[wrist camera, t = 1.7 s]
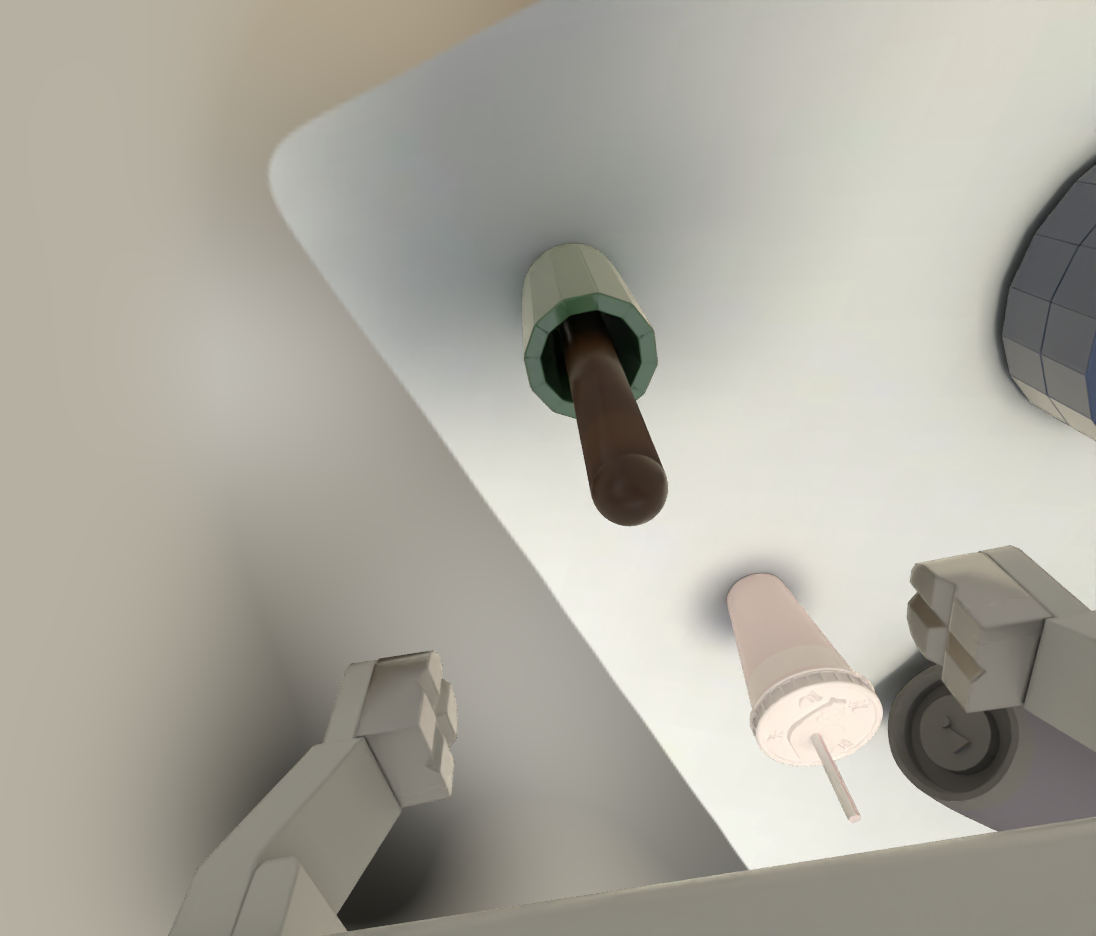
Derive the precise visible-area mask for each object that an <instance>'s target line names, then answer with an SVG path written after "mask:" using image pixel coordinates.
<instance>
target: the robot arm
mask: <svg viewBox="0 0 1096 936" xmlns="http://www.w3.org/2000/svg"><path fill="white" fill-rule="evenodd" d="M910 583H911V584H912V586H913V587H914V588H915V589H916V590H917V593H916V594H915V595H914V596H913V598H912V599H911V600H910V601H909V602H908V608H907V620H908V625H909V629H910V633H911V635H912V638H913V640H914V642H915V644H916V646H917V647H918V649H919V650H920V651H921V653H922V654H923V656H924V657H925V658H926V659H928V660H930V661H932V662H933V663H935V664H937V665H939V666H941V667H943V672H942V679H941V680H942V681H943V683H944V684H945V685H946V687H947V688H948V689H949V691H950V692H951V693H952V695H953V696H954V697H955V698H956V700H957V701H958V702H959V704H960V705H961V706H962V708H963V709H964V710H965V712H966V713H971V712H979V711H986V710H993V709H1001V708H1008V707H1015V706H1022V705H1024V707H1023V708H1024V709H1025V710H1027V711H1029V712H1030V713H1032V714H1034V715H1035V716H1037V717H1039V718H1040V719H1042V720H1043V721H1045V722H1047V723H1048V724H1050V725H1052V726H1053V727H1055V728H1057V729H1058V730H1060V731H1061V732H1063V733H1065V734H1066V735H1068V736H1070V737H1071V738H1073V739H1075V740H1076V741H1078V742H1079V743H1081V744H1083V745H1084V746H1086V747H1088V748H1089V749H1091V750H1093V751H1094V752H1096V611H1091V610H1090V609H1089V608H1088V607H1086V606H1085V605H1084V604H1083V603H1082V602H1081V601H1079V600H1078V599H1077V598H1076V597H1075V596H1074V595H1072V594H1071V593H1070V592H1069V591H1068V590H1067V589H1066V588H1064V587H1063V586H1062V585H1061V584H1060V583H1059V582H1057V581H1056V580H1055V579H1054V578H1053V577H1052V576H1050V575H1049V574H1048V573H1047V572H1046V571H1045V570H1044V569H1042V568H1041V567H1040V566H1039V565H1038V564H1037V563H1035V562H1034V561H1033V560H1032V559H1031V558H1030V557H1028V556H1027V555H1026V554H1025V553H1024V552H1023V551H1022V550H1020V549H1019V548H1016V547H1014V546H1011V545H1009V546H1004V547H999V548H994V549H989V550H984V551H979V552H977V553H969V554H964V555H959V556H953V557H948V558H943V559H937V560H932V561H927V562H921V563H916V564H915V566H914V567H913V569H912V570H911V578H910ZM442 671H443V664H442V662H441V660H440V657H439V655H438V653H437V652H436V651H426V652H420V653H413V654H407V655H401V656H394V657H388V658H381V659H378V660H373V661H366V662H359V663H352V664H350V666H349V667H348V668H347V669H346V671H345V673H344V676H343V679H342V683H341V686H340V689H339V692H338V696H337V699H336V702H335V705H334V709H333V712H332V715H331V718H330V721H329V725H328V728H327V731H326V734H325V738H324V741H323V744H319V745H314V746H313V747H312V748H311V749H310V750H309V751H308V752H307V753H306V754H305V755H304V757H303V758H302V759H301V760H300V761H299V762H298V763H297V764H296V765H295V766H294V767H293V768H292V769H291V770H290V771H289V772H288V774H286V775H285V777H284V778H283V779H282V780H281V781H280V782H279V783H278V784H277V785H276V786H275V787H274V788H273V789H272V790H271V791H270V792H269V793H268V794H267V795H266V796H265V797H264V798H263V800H262V801H261V802H260V803H259V804H258V805H257V806H256V807H255V808H254V809H253V810H252V811H251V812H250V813H249V814H248V815H247V816H246V817H245V819H243V821H242V822H241V823H240V824H239V825H238V826H237V827H236V828H235V829H234V830H233V831H232V832H231V833H230V834H229V835H228V836H227V837H226V838H225V839H224V841H222V843H221V844H220V845H219V846H218V847H217V848H216V849H215V850H214V851H213V852H212V853H211V854H210V856H208V857H207V858H206V859H205V860H204V861H203V862H202V864H201V865H200V866H199V867H198V868H197V869H196V872H195V874H194V876H193V879H192V881H191V883H190V886H189V888H188V891H187V893H186V895H185V898H184V900H183V902H182V905H181V907H180V909H179V912H178V914H177V916H176V919H175V921H174V923H173V926H172V928H171V930H170V933H169V935H168V936H1096V817H1090V818H1084V819H1077V820H1071V821H1064V822H1058V823H1051V824H1045V825H1038V826H1032V827H1025V828H1019V829H1012V830H1006V831H999V832H993V833H986V834H980V835H973V836H967V837H961V838H954V839H948V840H941V841H935V842H928V843H922V844H915V845H909V846H902V847H896V848H889V849H883V850H876V851H870V852H864V853H857V854H851V855H844V856H838V857H831V858H825V859H818V860H812V861H805V862H799V863H792V864H786V865H779V866H773V867H766V868H760V869H753V870H747V871H741V872H735V873H727V874H721V875H714V876H708V877H701V878H695V879H689V880H681V881H676V882H668V883H662V884H655V885H649V886H643V887H636V888H629V889H623V890H616V891H610V892H603V893H597V894H591V895H584V896H577V897H571V898H564V899H558V900H551V901H545V902H538V903H532V904H525V905H519V906H512V907H506V908H499V909H493V910H486V911H479V912H473V913H467V914H460V915H454V916H447V917H440V918H434V919H427V920H422V921H415V922H409V923H401V924H395V925H388V926H382V927H375V928H369V929H363V930H356V931H349V932H347V930H346V929H345V927H344V926H343V924H342V923H341V922H340V920H339V919H338V917H337V916H336V915H337V913H338V912H339V910H340V908H341V907H342V905H343V904H344V902H345V900H346V899H347V897H348V896H349V894H350V892H351V891H352V889H353V888H354V886H355V884H356V883H357V881H358V880H359V878H360V877H361V875H362V873H363V872H364V870H365V869H366V867H367V866H368V864H369V862H370V861H371V859H372V858H373V856H374V854H375V853H376V851H377V850H378V848H379V846H380V845H381V843H382V842H383V840H384V838H385V837H386V835H387V834H388V832H389V831H390V829H391V827H392V826H393V824H394V823H395V821H396V819H397V818H398V816H399V815H400V813H401V811H402V810H401V808H403V807H408V806H413V805H418V804H423V803H429V802H434V801H439V800H444V799H449V798H451V793H452V783H453V774H454V764H455V762H454V759H453V756H452V754H451V752H450V749H449V748H450V747H451V745H452V744H453V743H454V742H455V740H456V739H457V730H458V715H457V705H456V700H455V696H454V692H453V689H452V687H451V684H450V683H449V682H447V681H445V680H444V679H442Z"/></svg>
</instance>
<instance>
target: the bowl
mask: <svg viewBox="0 0 1096 936" xmlns="http://www.w3.org/2000/svg"><path fill="white" fill-rule="evenodd" d="M1035 234H1036V235H1034V236H1033V239H1032V241H1031V243H1030V245H1029V247H1028V249H1027V251H1026V254H1025V256H1024V258H1023V260H1022V262H1021V264H1020V266H1019V268H1018V271H1017V273H1016V275H1015V277H1014V279H1013V281H1012V283H1011V287H1010V288H1009V294H1008V300H1007V306H1006V312H1005V318H1004V324H1003V330H1002V338H1003V343H1004V348H1005V353H1006V358H1007V363H1008V368H1009V373H1010V375H1011V377H1012V378H1013V379H1014V381H1015V382H1016V383H1017V385H1018V386H1019V387H1020V389H1021V390H1022V391H1023V393H1024V394H1025V395H1026V397H1027V398H1028V399H1029V401H1030V402H1031V403H1032V404H1033V405H1035V406H1036V407H1038V408H1040V409H1041V410H1043V411H1045V412H1047V413H1048V414H1050V415H1052V416H1053V417H1055V418H1057V419H1059V420H1060V421H1062V422H1064V423H1065V424H1067V425H1069V426H1071V427H1072V428H1074V429H1076V430H1078V431H1079V432H1081V433H1083V434H1084V435H1086V436H1088V437H1090V438H1091V439H1093V440H1095V441H1096V165H1094V166H1093V167H1092V168H1091V169H1090V170H1088V171H1087V172H1086V173H1085V174H1084V175H1082V176H1081V177H1080V178H1079V179H1078V180H1077V181H1076V182H1075V183H1074V184H1073V185H1072V186H1071V188H1070V189H1069V190H1068V192H1067V193H1066V194H1065V195H1064V197H1063V198H1062V199H1061V200H1060V202H1059V203H1058V204H1057V206H1056V207H1055V208H1054V209H1053V211H1052V212H1051V213H1050V215H1049V216H1048V217H1047V218H1046V220H1045V221H1044V222H1043V223H1042V225H1041V226H1040V227H1039V229H1038V230H1037V231H1036V232H1035Z"/></svg>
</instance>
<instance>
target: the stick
mask: <svg viewBox="0 0 1096 936" xmlns="http://www.w3.org/2000/svg"><path fill="white" fill-rule="evenodd" d="M558 327H559V332H560V337H561V342H562V347H563V352H564V358H565V363H566V368H567V373H568V378H569V383H570V388H571V393H572V399H573V404H574V409H575V414H576V419H577V424H578V429H579V434H580V440H581V445H582V450H583V455H584V460H585V465H586V470H587V476H588V481H589V486H590V491H591V496H592V499H593V502H594V504H595V506H596V508H597V509H598V511H599V512H600V513H601V514H602V515H603V516H604V517H605V518H606V519H608V520H609V521H611V522H613V523H616V524H618V525H622V526H637V525H641V524H644V523H646V522H648V521H650V520H651V519H653V518H654V517H655V516H656V515H657V514H658V513H659V512H660V510H661V509H662V508H663V506H664V504H665V502H666V498H667V494H668V482H667V477H666V474H665V472H664V469H663V467H662V464H661V462H660V459H659V457H658V454H657V452H656V449H655V447H654V444H653V442H652V440H651V437H650V435H649V432H648V430H647V427H646V425H645V422H644V420H643V417H642V415H641V412H640V410H639V407H638V405H637V403H636V400H635V398H634V395H633V393H632V390H631V388H630V385H629V383H628V380H627V378H626V375H625V373H624V370H623V368H622V366H621V363H620V361H619V358H618V356H617V353H616V351H615V348H614V346H613V343H612V341H611V338H610V336H609V333H608V331H607V329H606V326H605V324H604V321H603V319H602V316H601V314H600V311H597V310H595V311H590V312H585V313H580V314H576V315H571V316H569V317H568V318H567V319H565V320H564V321H563V322H562V323H561V324H560V325H559V326H558Z"/></svg>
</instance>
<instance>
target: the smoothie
mask: <svg viewBox="0 0 1096 936" xmlns="http://www.w3.org/2000/svg"><path fill="white" fill-rule="evenodd" d="M727 606H728V610H729V614H730V618H731V623H732V627H733V631H734V635H735V639H736V644H737V648H738V652H739V656H740V660H741V664H742V669H743V673H744V677H745V681H746V685H747V690H748V695H749V699H750V703H751V706H752V711H751V714H750V727H751V730H752V732H753V735H754V736H755V738H756V740H757V743H758V746H759V747H760V749H761V750H762V752H763V753H764V754H765V755H767V756H768V757H769V758H771V759H773V760H775V761H777V762H780V763H783V764H787V765H792V766H816V765H821V764H822V765H823V767H824V769H825V771H826V773H827V775H828V777H829V780H830V782H831V784H832V786H833V788H834V790H835V793H836V795H837V797H838V799H839V801H840V803H841V805H842V808H843V810H844V812H845V814H846V816H847V818H848V821H849V822H851V823H854V822H858V821H859V820H860V819H861V816H860V814H859V812H858V810H857V808H856V806H855V804H854V802H853V800H852V797H851V795H850V793H849V791H848V789H847V787H846V785H845V783H844V781H843V779H842V777H841V775H840V773H839V771H838V769H837V766H836V764H835V762H834V761H836V760H839V759H841V758H844V757H846V756H848V755H850V754H852V753H853V752H855V751H857V750H858V749H860V748H861V747H862V746H864V745H865V744H866V743H867V742H868V741H869V740H870V739H871V738H872V737H873V736H874V735H875V733H876V731H877V730H878V728H879V726H880V724H881V721H882V717H883V709H882V705H881V702H880V700H879V698H878V697H877V695H876V694H875V690H874V687H873V686H872V685H871V683H870V682H869V681H868V680H867V678H865V677H863V676H862V675H860V674H859V673H857V672H855V671H853V670H852V669H851V668H850V666H849V665H848V664H847V663H846V661H845V660H844V659H843V657H842V656H841V655H840V654H839V653H838V652H837V650H836V649H835V648H834V646H833V645H832V644H831V643H830V641H829V640H828V639H827V638H826V636H825V635H824V634H823V633H822V631H821V630H820V629H819V628H818V626H817V625H816V624H815V623H814V621H813V620H812V619H811V617H810V616H809V615H808V614H807V612H806V611H805V610H804V609H803V607H802V606H801V605H800V604H799V602H798V601H797V600H796V599H795V597H794V596H793V595H792V594H791V592H790V591H789V590H788V588H787V587H786V586H785V585H784V583H783V582H782V581H781V580H780V579H779V578H778V577H776V576H774V575H771V574H765V573H759V574H753V575H749V576H747V577H744V578H742V579H741V580H739V581H738V582H736V583H735V584H734V585H733V586H732V588H731V589H730V591H729V593H728V595H727Z"/></svg>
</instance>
